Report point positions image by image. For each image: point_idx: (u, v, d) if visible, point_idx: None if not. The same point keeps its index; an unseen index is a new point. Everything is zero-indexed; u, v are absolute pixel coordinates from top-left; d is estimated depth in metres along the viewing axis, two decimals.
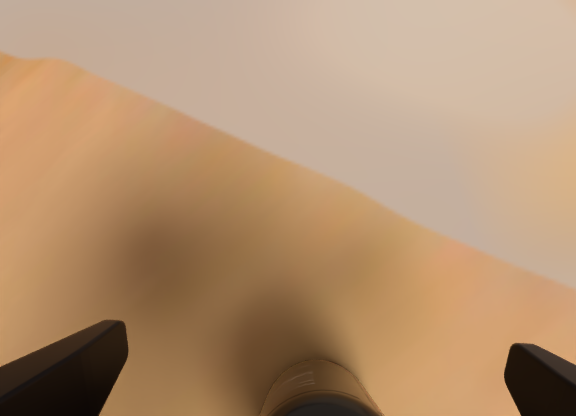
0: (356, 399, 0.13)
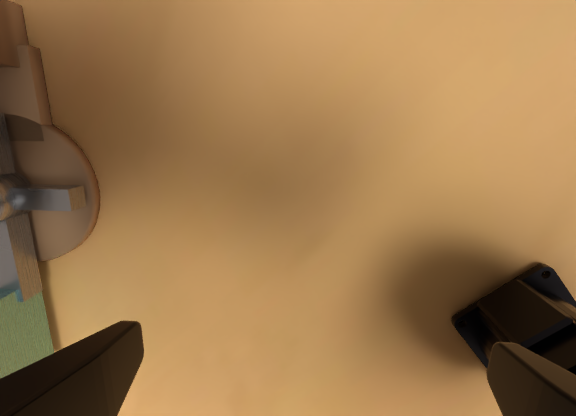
0: None
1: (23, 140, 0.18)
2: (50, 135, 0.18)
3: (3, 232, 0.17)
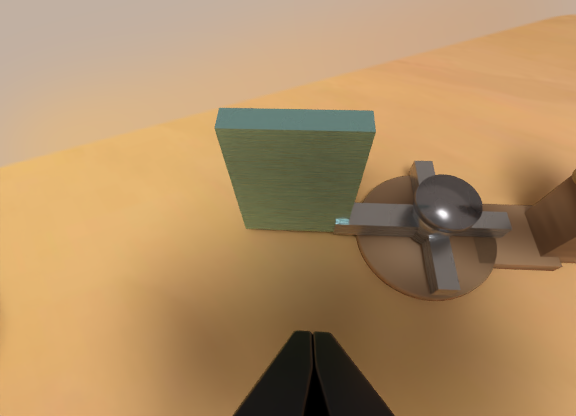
0: None
1: (475, 245, 0.21)
2: (486, 270, 0.20)
3: (406, 222, 0.19)
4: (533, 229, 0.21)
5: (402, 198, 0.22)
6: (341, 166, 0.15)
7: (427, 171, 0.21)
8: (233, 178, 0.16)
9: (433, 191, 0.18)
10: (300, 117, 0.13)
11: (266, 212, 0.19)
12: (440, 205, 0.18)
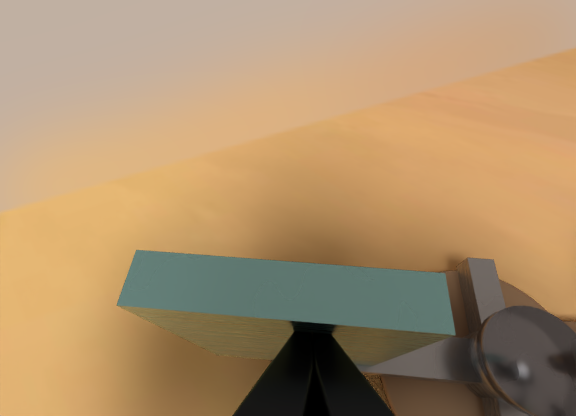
0: None
1: None
2: None
3: (461, 373, 0.12)
4: None
5: None
6: (370, 345, 0.08)
7: (487, 277, 0.15)
8: (180, 334, 0.09)
9: (512, 338, 0.11)
10: (294, 284, 0.06)
11: (244, 352, 0.12)
12: (526, 368, 0.11)
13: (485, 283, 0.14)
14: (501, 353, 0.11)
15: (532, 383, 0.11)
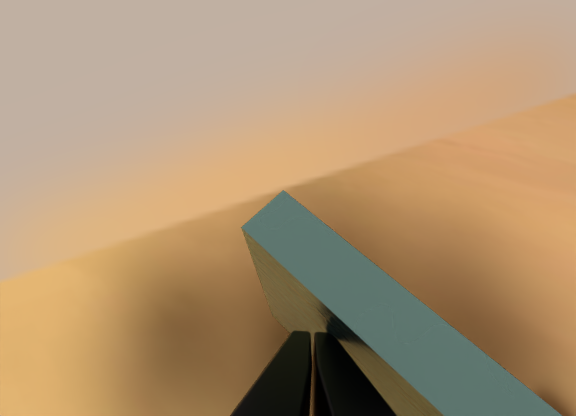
0: None
1: None
2: None
3: None
4: None
5: None
6: None
7: None
8: (263, 283, 0.09)
9: None
10: (414, 329, 0.05)
11: None
12: None
13: None
14: None
15: None
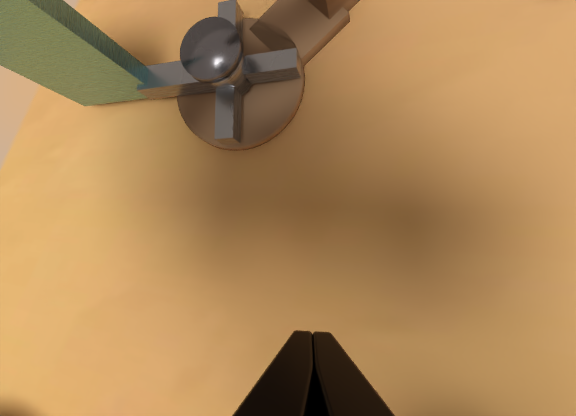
0: None
1: None
2: None
3: None
4: (310, 0, 0.20)
5: None
6: (53, 35, 0.16)
7: (228, 13, 0.20)
8: None
9: (196, 39, 0.18)
10: None
11: (73, 88, 0.21)
12: (199, 54, 0.18)
13: (226, 18, 0.20)
14: (188, 49, 0.18)
15: (200, 62, 0.17)
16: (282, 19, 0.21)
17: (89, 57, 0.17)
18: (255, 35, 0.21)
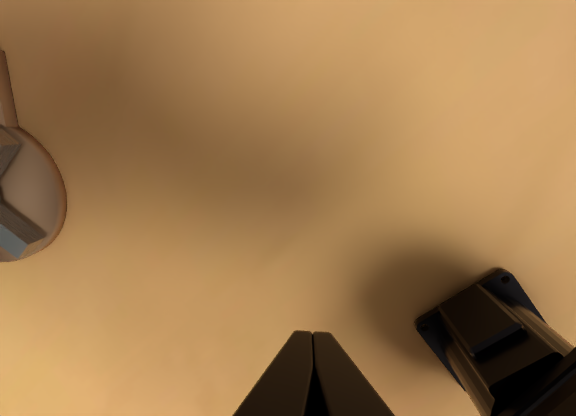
0: None
1: None
2: (15, 137, 0.18)
3: None
4: None
5: None
6: None
7: None
8: None
9: None
10: None
11: None
12: None
13: None
14: None
15: None
16: None
17: None
18: None
